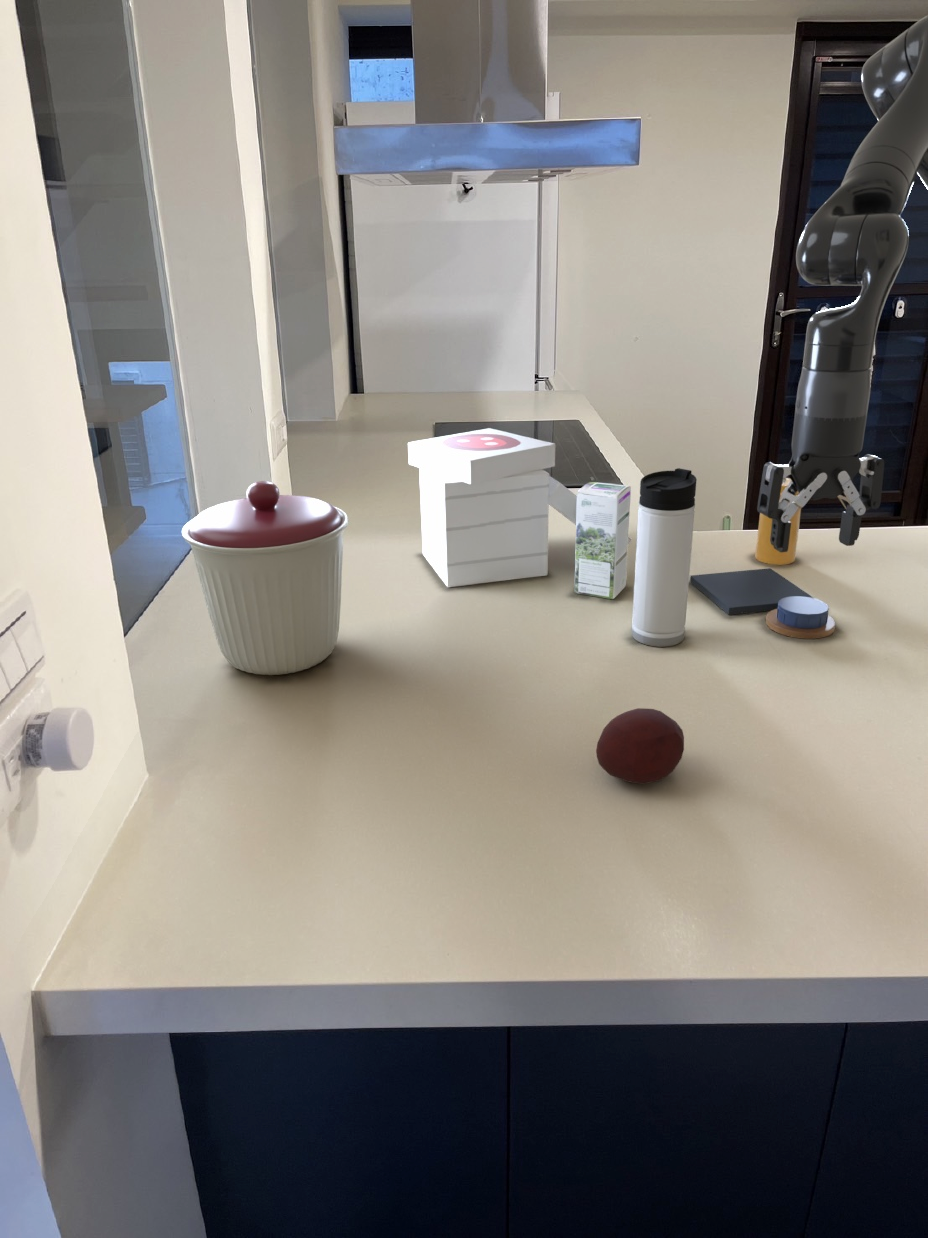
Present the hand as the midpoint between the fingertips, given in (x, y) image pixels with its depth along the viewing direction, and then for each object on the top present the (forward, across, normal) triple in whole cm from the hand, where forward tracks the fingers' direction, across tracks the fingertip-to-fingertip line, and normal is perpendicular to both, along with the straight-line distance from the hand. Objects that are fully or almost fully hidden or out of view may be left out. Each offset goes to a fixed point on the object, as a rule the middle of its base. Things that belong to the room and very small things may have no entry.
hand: (813, 547), depth 107 cm
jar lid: (+8, 0, 0) cm, 8 cm away
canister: (+10, -63, +7) cm, 64 cm away
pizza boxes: (+10, -28, +33) cm, 44 cm away
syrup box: (+10, -20, +18) cm, 29 cm away
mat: (+10, -1, +11) cm, 15 cm away
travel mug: (+10, -18, +2) cm, 21 cm away
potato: (+10, -32, -26) cm, 42 cm away
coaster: (+10, 0, 0) cm, 10 cm away
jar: (+10, +9, +23) cm, 27 cm away
